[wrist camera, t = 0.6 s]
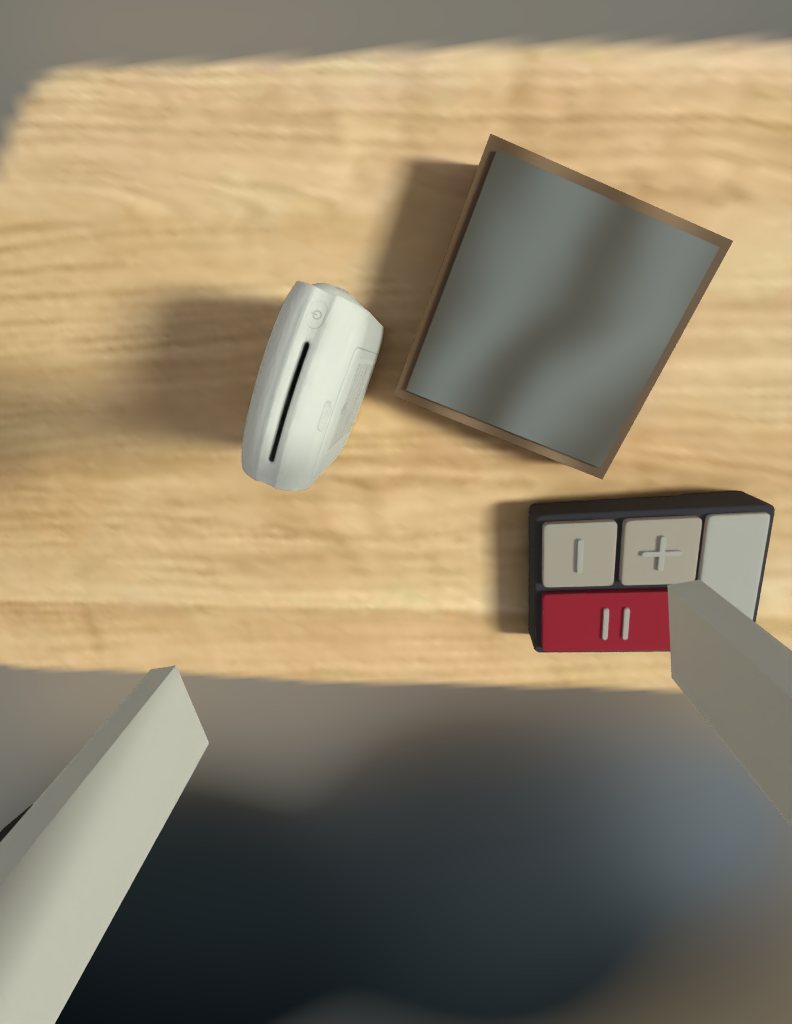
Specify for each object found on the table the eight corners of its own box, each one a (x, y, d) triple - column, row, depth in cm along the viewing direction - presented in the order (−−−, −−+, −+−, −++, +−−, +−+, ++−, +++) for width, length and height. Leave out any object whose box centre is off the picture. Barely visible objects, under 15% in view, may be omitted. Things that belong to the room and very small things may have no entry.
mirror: (396, 391, 32) (392, 396, 28) (481, 165, 27) (491, 130, 23) (581, 465, 33) (604, 480, 28) (691, 257, 28) (736, 239, 24)
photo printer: (332, 295, 30) (274, 253, 18) (393, 321, 30) (375, 296, 19) (286, 441, 33) (211, 484, 22) (341, 463, 34) (297, 518, 22)
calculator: (536, 519, 31) (785, 507, 29) (526, 500, 35) (743, 489, 33) (535, 659, 34) (758, 658, 32) (526, 627, 38) (723, 624, 36)
